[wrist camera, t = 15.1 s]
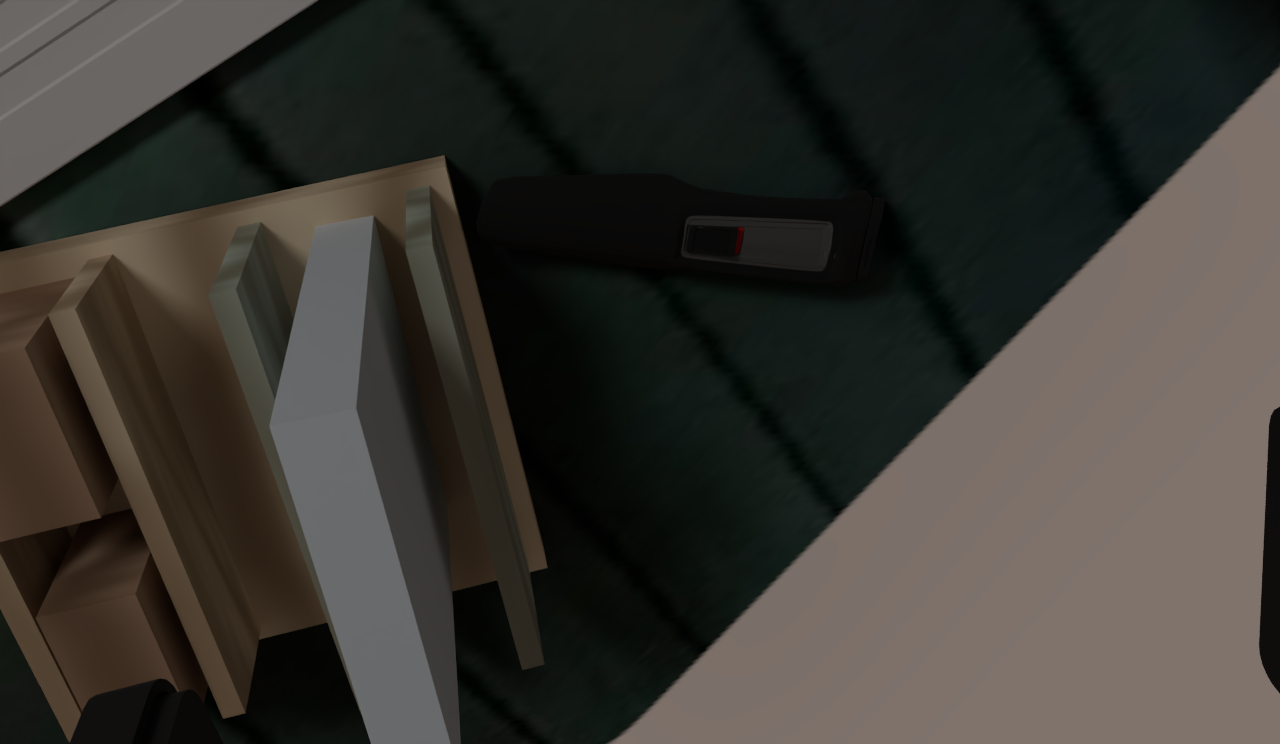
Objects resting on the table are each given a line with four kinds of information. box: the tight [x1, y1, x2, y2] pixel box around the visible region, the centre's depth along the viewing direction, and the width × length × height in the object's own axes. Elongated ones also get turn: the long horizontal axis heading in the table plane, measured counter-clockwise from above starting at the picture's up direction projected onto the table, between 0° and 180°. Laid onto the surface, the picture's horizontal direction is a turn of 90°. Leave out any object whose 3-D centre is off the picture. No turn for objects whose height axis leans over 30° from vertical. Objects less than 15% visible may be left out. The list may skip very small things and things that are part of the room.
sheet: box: [269, 215, 461, 744], centre depth 37 cm, size 2×12×15 cm, turn 8°
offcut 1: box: [0, 278, 118, 542], centre depth 38 cm, size 3×6×6 cm, turn 10°
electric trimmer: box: [476, 173, 885, 287], centre depth 43 cm, size 4×16×3 cm, turn 82°
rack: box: [0, 156, 547, 743], centre depth 41 cm, size 19×17×8 cm
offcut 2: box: [36, 509, 208, 711], centre depth 42 cm, size 3×6×6 cm, turn 10°
